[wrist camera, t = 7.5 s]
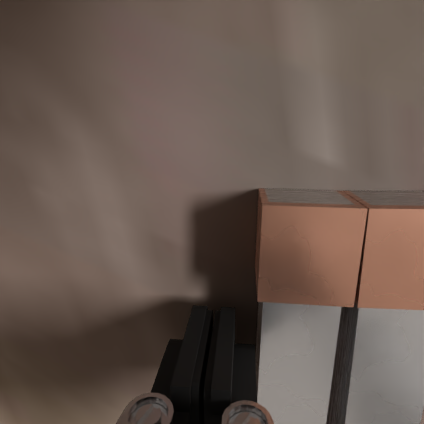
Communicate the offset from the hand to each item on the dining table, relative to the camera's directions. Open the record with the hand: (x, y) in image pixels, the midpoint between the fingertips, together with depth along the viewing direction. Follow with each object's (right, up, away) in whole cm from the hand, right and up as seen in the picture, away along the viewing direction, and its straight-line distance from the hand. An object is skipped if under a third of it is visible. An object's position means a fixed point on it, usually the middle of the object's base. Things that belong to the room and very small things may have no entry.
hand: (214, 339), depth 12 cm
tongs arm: (+3, -4, +1) cm, 5 cm away
